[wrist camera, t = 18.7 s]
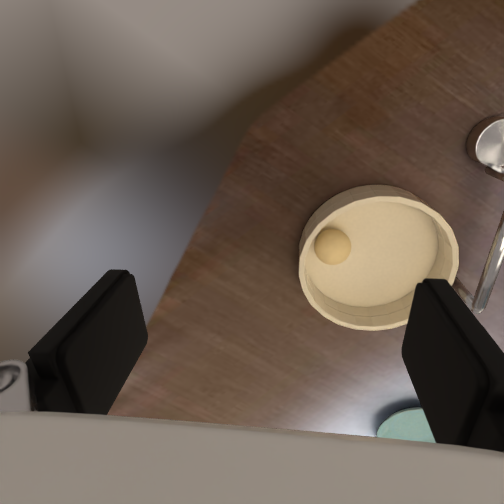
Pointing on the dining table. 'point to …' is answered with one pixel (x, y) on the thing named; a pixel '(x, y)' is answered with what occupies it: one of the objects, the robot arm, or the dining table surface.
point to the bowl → (376, 256)
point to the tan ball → (332, 247)
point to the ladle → (493, 156)
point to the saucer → (407, 426)
